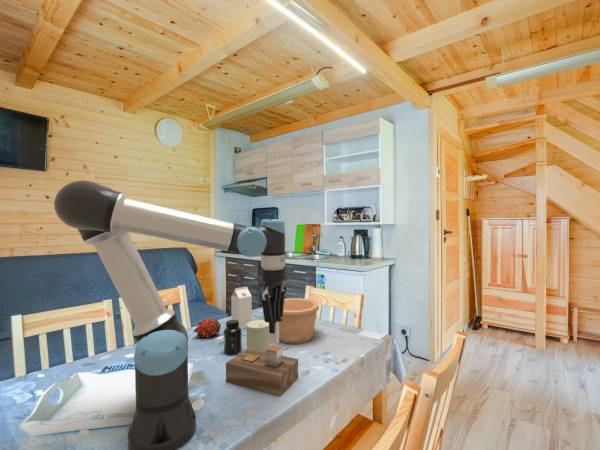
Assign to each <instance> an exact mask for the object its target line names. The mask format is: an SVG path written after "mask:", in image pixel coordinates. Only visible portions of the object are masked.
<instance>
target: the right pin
mask: <svg viewBox="0 0 600 450" xmlns="http://www.w3.org/2000/svg"><path fill="white" fill-rule="evenodd" d="M265 350H266V366H268V367H273V368H278V367H279V366H281V365H282V364H283V356H284V347H283V346H281V345H275V344H270V347H268V348H267V349H265Z"/></svg>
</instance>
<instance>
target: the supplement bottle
mask: <svg viewBox="0 0 600 450" xmlns="http://www.w3.org/2000/svg"><path fill="white" fill-rule="evenodd" d="M225 324H226V325H225V329H224V330H223V352H224V354H225V355H227V356H235V355H236V356H237V355H239V354H240V353H242V347H243V345H242V343H243V342H242V339H243V338H242V329H241V328H240V327H238V326H239V321H238V320H232V319H229V320H228V319H227V320H226V322H225Z"/></svg>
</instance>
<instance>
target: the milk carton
mask: <svg viewBox="0 0 600 450" xmlns="http://www.w3.org/2000/svg"><path fill="white" fill-rule="evenodd" d="M230 298H231V299H230V300H231V301H230V303H231V305H230V306H231V308H230V309H231V312H230V313H231V320H238V321H239V326H238V327H240V328H241V330H244V329H247V327H246V324H247V323H248V322H251V321H253V316H252V315H253V312H252V311H253V308H252V307H253V305H252V303H253V302H252V294H251V292H250V291H249V287H248V286H243V287H242V286H241V287H236V288H234V292H232V294H231V297H230Z"/></svg>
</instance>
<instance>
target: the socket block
mask: <svg viewBox="0 0 600 450" xmlns="http://www.w3.org/2000/svg"><path fill="white" fill-rule="evenodd" d="M249 354H251V355H255V356H259V359H257V360H256V361H255V362H253V363H251V362H247V361H242V359H243V358H244V357H246V356H247V355H249ZM298 378H299V359H298V358H294V357H290V356H284V355H283V364H282V365H281V366H279V367H278V368H273V367H268V366H266V352H261V351H257V350H252V349H247V348H246V349H245V350H243V351H241V352H240V353H239V354H236V356H234V357H233V358H231V359H230V360H228V361H226V362H225V382H226V383H227V382H228V383H232V384H234V385H238V386H241V387H245V388H248V389H253V390H256V391H259V392H263V393H268V394H271V395H274V396H277V397H281V396H282V395H283V394H284V393H285V392H286V391H287V390H288V389H290V387H291V386H292V385H293V383H295V382H296V380H297V379H298Z"/></svg>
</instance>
